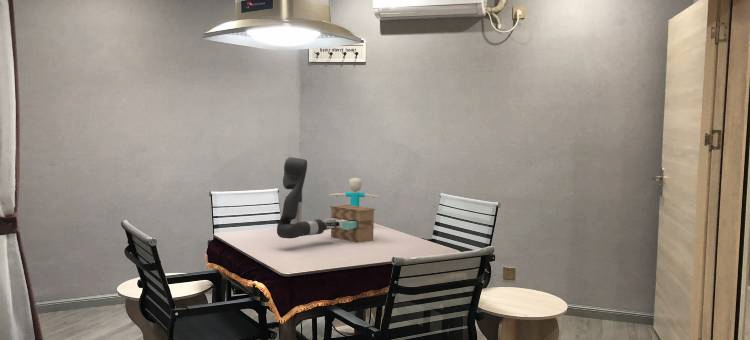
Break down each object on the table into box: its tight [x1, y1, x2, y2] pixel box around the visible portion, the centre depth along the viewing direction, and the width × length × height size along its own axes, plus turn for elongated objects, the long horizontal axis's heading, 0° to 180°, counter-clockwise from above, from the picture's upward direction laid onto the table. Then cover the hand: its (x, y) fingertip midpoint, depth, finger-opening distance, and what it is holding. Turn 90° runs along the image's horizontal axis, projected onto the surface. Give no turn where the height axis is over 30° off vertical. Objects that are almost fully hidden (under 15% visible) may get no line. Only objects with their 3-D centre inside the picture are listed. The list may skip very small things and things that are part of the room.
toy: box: [328, 177, 382, 207], centre depth 385 cm, size 30×9×30 cm, turn 84°
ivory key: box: [336, 219, 348, 228], centre depth 347 cm, size 4×9×4 cm, turn 136°
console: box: [329, 204, 376, 244], centre depth 351 cm, size 23×11×17 cm, turn 46°
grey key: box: [323, 217, 339, 222], centre depth 351 cm, size 4×9×4 cm, turn 136°
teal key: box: [343, 221, 358, 230], centre depth 341 cm, size 4×9×4 cm, turn 136°
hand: (338, 223), depth 344 cm, fingers closed
